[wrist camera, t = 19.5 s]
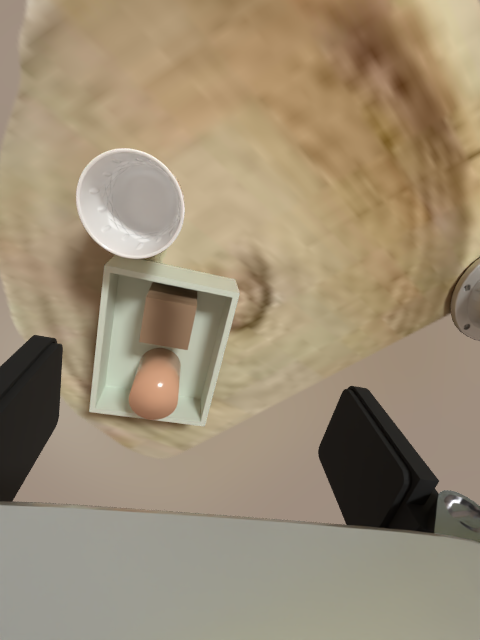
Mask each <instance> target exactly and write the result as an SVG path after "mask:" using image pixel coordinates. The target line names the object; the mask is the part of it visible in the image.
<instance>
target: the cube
mask: <svg viewBox="0 0 480 640" xmlns="http://www.w3.org/2000/svg"><path fill="white" fill-rule="evenodd" d="M196 309H197V291H195V290H190V289H185V288H180V287H175V286H170V285H166V284H161V283H156V282H153V283H152V285H151V287H150V289H149V291H148V294H147V296H146V300H145V307H144V313H143V320H142V326H141V333H140V339H139V342H142V343H148V344H154V345H159V346H165V347H171V348H177V349H183V350H188V346H189V342H190V337H191V332H192V328H193V323H194V318H195V314H196Z"/></svg>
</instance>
